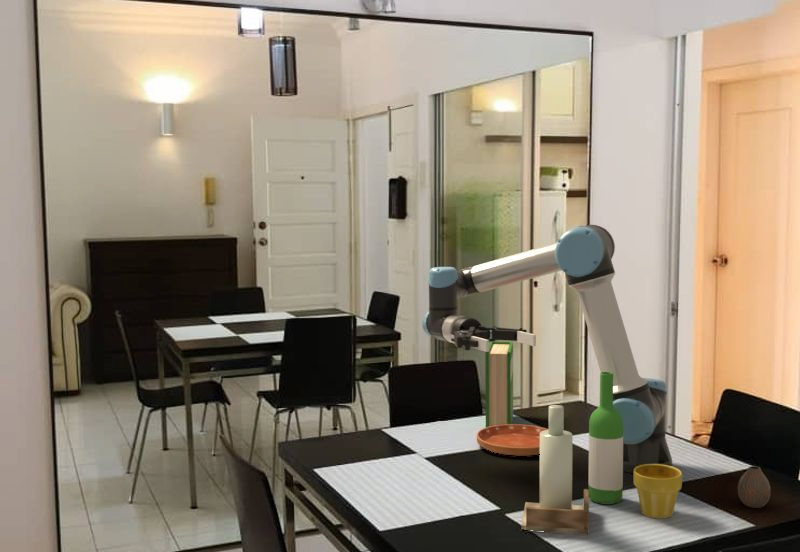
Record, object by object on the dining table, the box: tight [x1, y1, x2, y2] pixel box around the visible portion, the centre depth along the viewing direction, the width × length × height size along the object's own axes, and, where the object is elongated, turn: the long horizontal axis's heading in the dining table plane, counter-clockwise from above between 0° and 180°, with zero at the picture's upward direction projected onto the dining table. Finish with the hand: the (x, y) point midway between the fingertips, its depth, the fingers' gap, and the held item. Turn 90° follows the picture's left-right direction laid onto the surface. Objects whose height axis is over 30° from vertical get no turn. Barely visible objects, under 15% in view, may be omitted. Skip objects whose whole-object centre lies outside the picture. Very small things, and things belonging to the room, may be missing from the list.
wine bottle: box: [588, 371, 624, 505], centre depth 204 cm, size 8×8×30 cm
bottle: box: [538, 404, 573, 509], centre depth 192 cm, size 7×7×24 cm
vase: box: [737, 465, 772, 509], centre depth 201 cm, size 7×7×9 cm
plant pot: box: [632, 464, 683, 519], centre depth 196 cm, size 10×10×10 cm
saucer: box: [476, 423, 549, 457], centre depth 248 cm, size 23×23×4 cm
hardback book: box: [484, 341, 514, 428], centre depth 272 cm, size 18×7×24 cm, turn 170°
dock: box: [521, 488, 590, 536], centre depth 193 cm, size 14×14×5 cm
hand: (511, 343), depth 209 cm, fingers open, 13 cm apart
